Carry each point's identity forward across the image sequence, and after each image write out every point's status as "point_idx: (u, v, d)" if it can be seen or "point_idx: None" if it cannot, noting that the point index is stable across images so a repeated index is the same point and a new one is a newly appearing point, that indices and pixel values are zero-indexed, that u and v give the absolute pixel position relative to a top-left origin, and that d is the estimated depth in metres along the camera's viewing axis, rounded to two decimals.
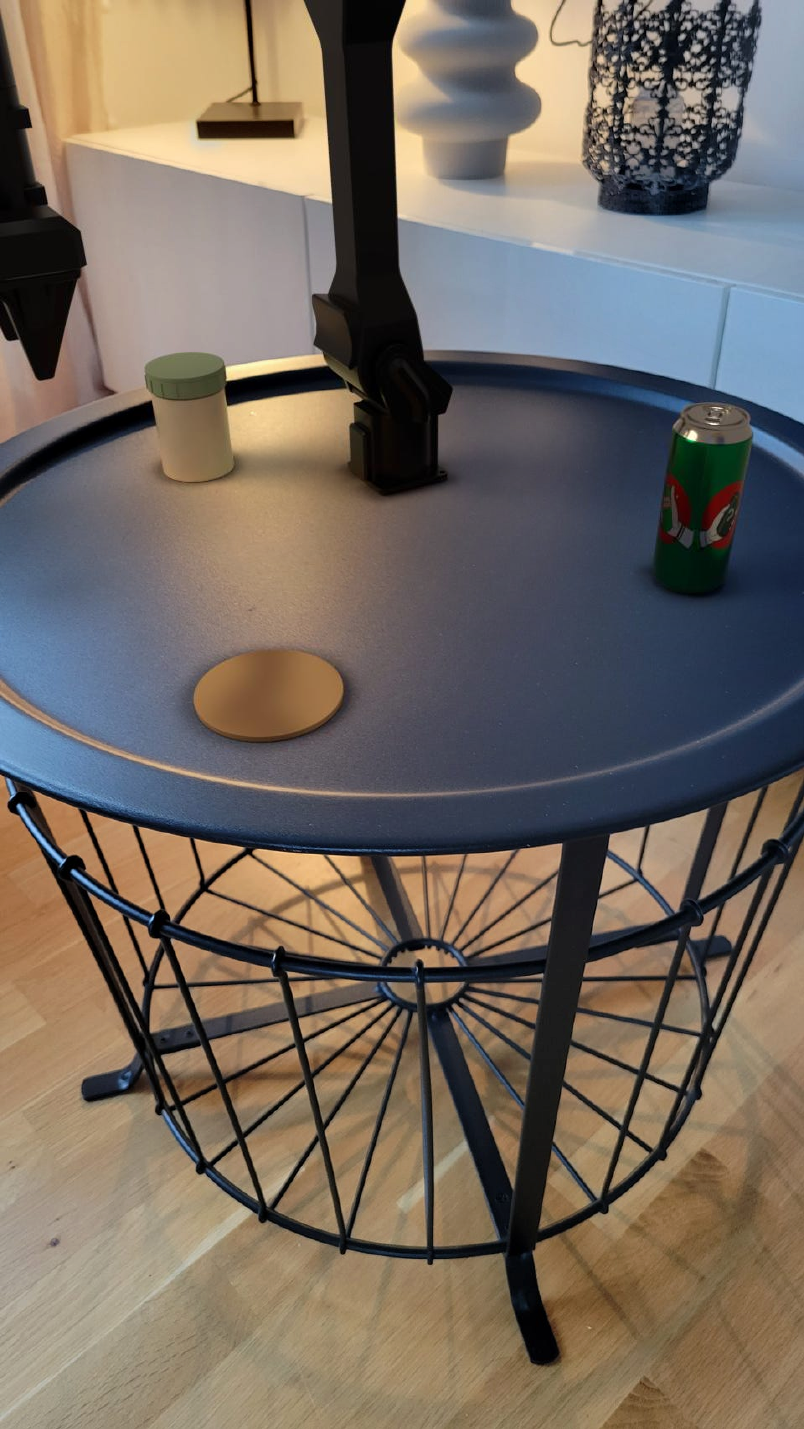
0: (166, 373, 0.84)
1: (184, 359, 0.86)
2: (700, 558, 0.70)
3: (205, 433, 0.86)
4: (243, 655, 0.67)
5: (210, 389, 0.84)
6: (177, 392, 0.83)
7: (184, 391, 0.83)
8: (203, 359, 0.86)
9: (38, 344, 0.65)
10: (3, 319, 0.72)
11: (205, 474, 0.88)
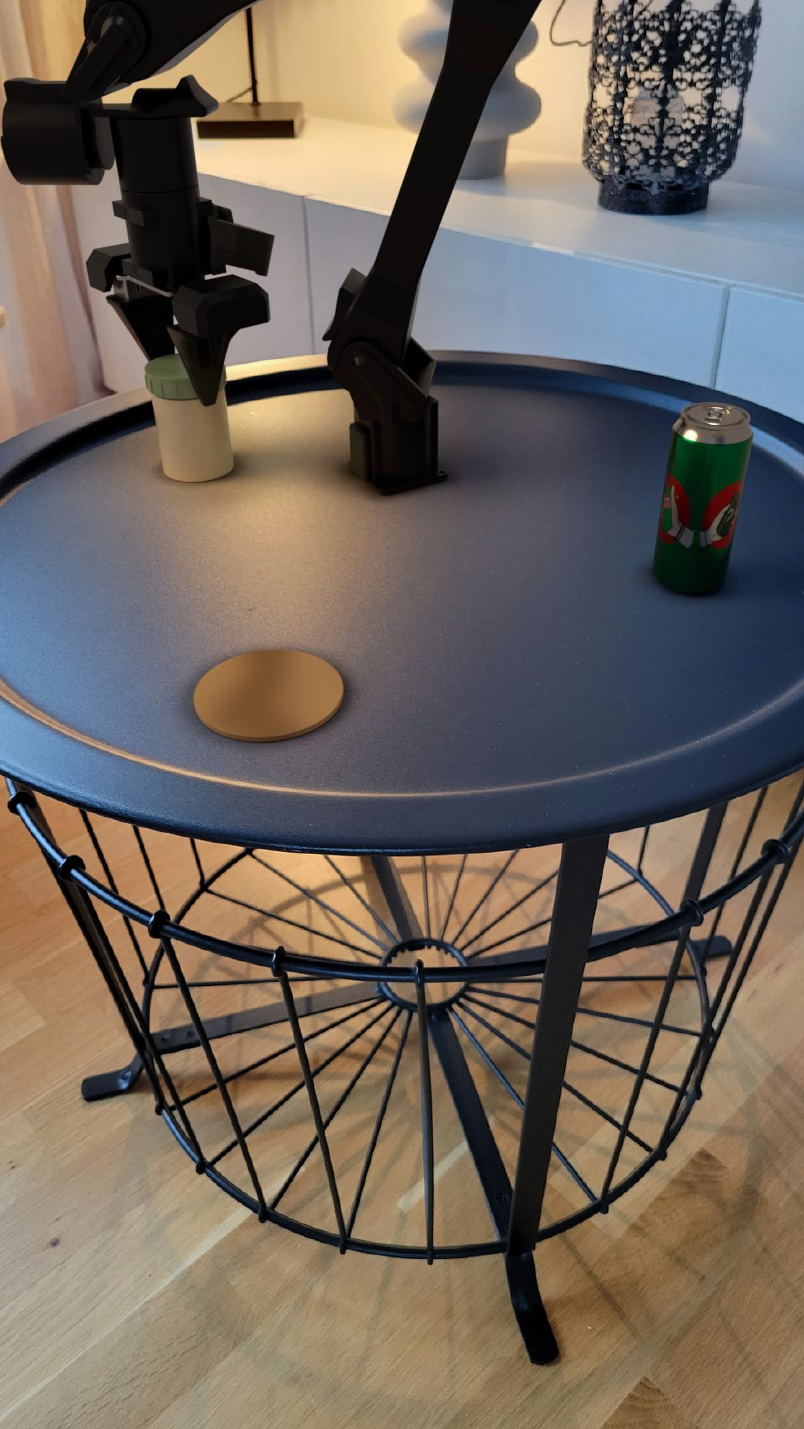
0: (166, 373, 0.84)
1: None
2: (700, 558, 0.70)
3: (205, 433, 0.86)
4: (243, 655, 0.67)
5: None
6: (177, 392, 0.83)
7: (184, 391, 0.83)
8: None
9: None
10: None
11: (205, 474, 0.88)
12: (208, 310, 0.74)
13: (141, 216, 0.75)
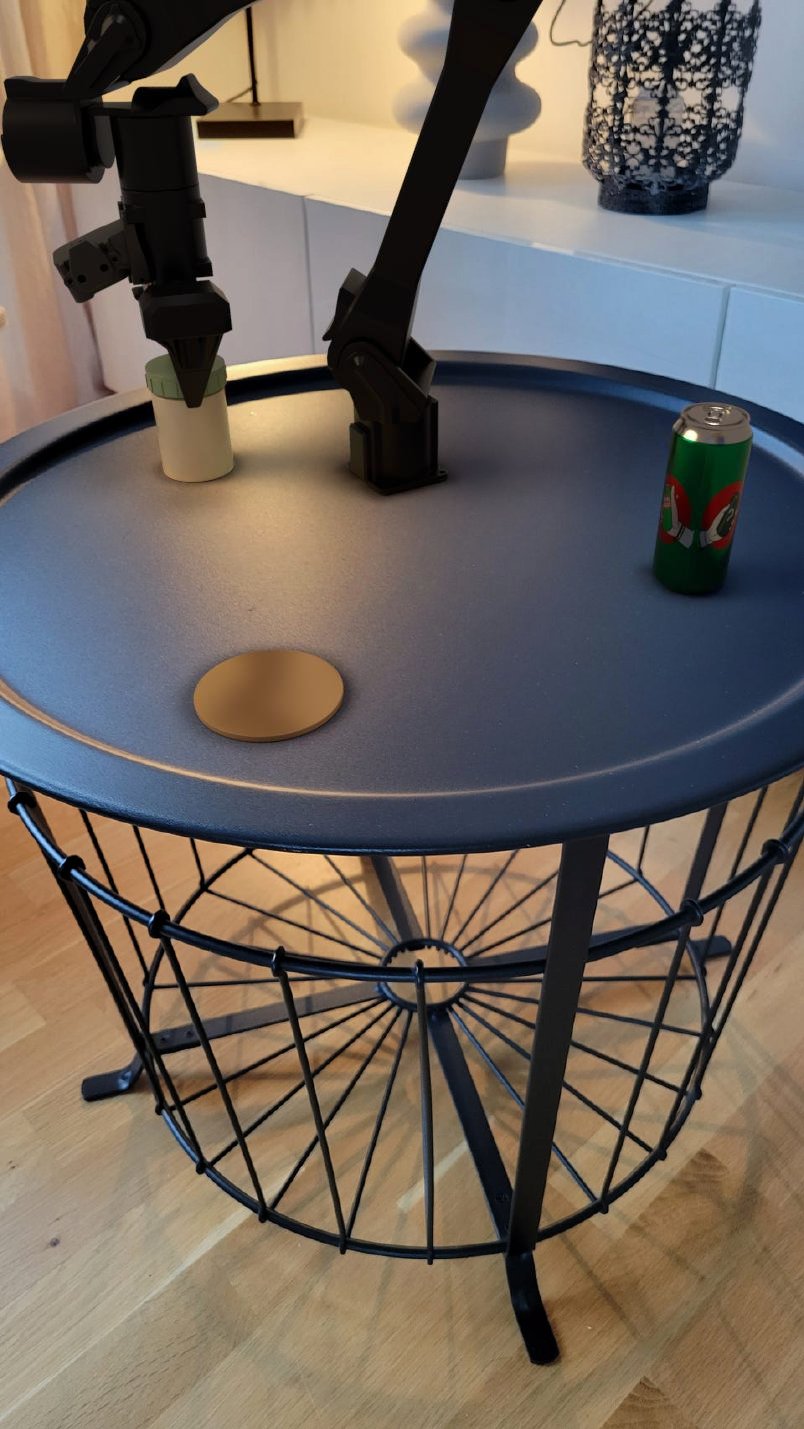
0: None
1: None
2: (700, 558, 0.70)
3: (205, 433, 0.86)
4: (243, 655, 0.67)
5: None
6: None
7: None
8: (161, 366, 0.85)
9: (190, 380, 0.82)
10: None
11: (205, 474, 0.88)
12: None
13: None
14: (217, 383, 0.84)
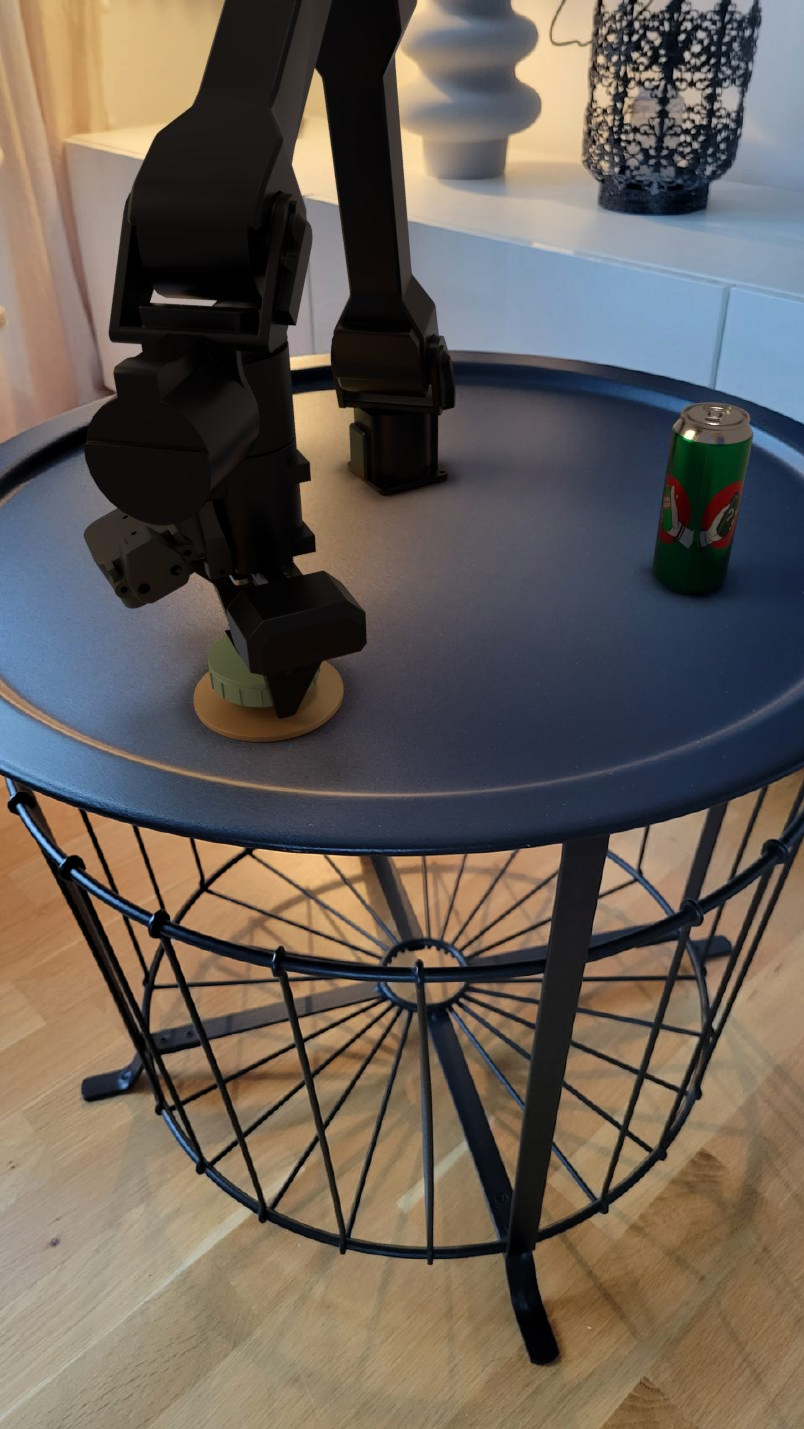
0: None
1: None
2: (700, 558, 0.70)
3: None
4: None
5: None
6: None
7: None
8: (232, 661, 0.61)
9: (286, 689, 0.59)
10: None
11: None
12: None
13: None
14: None
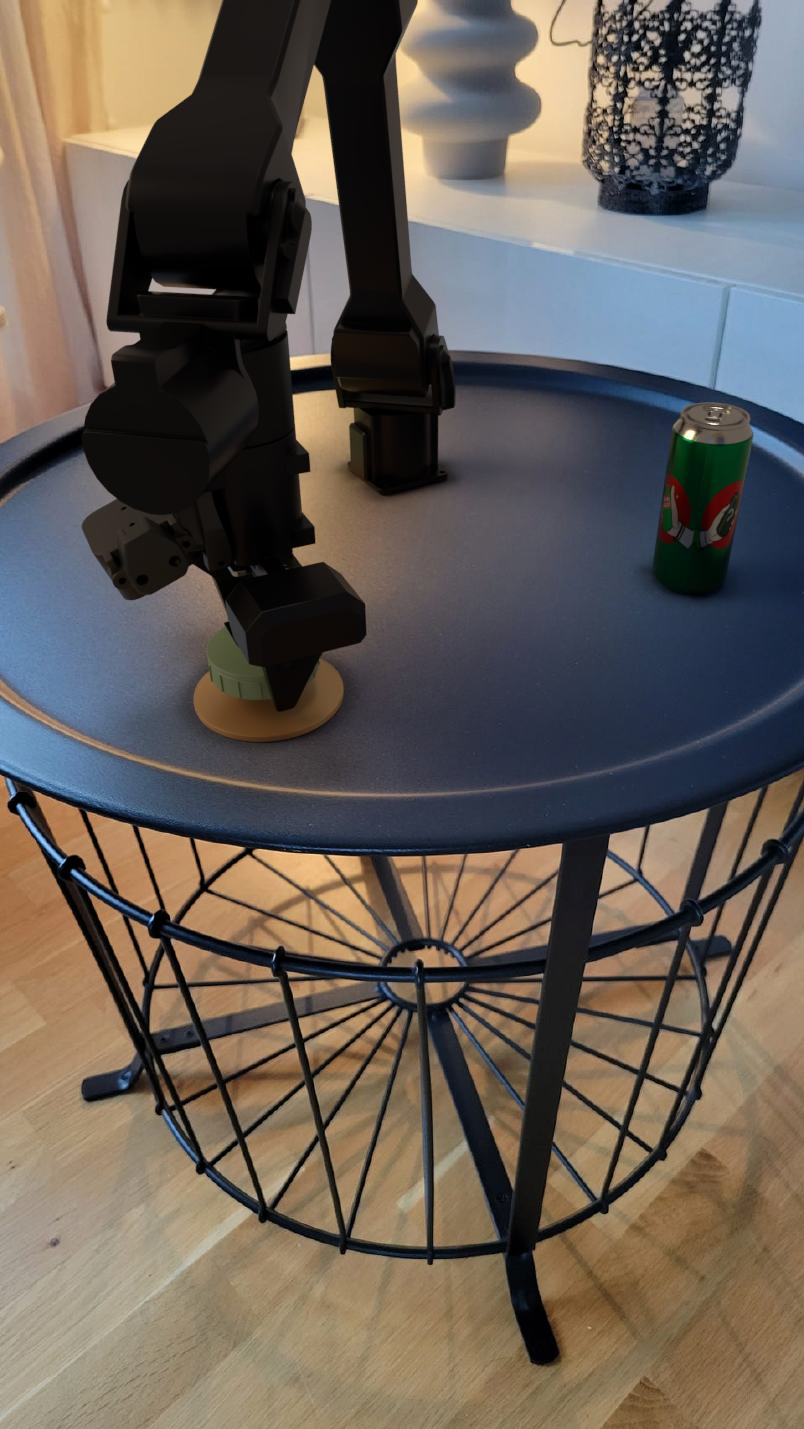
0: None
1: None
2: (700, 558, 0.70)
3: None
4: None
5: None
6: None
7: None
8: (231, 653, 0.61)
9: (285, 682, 0.58)
10: None
11: None
12: None
13: None
14: None
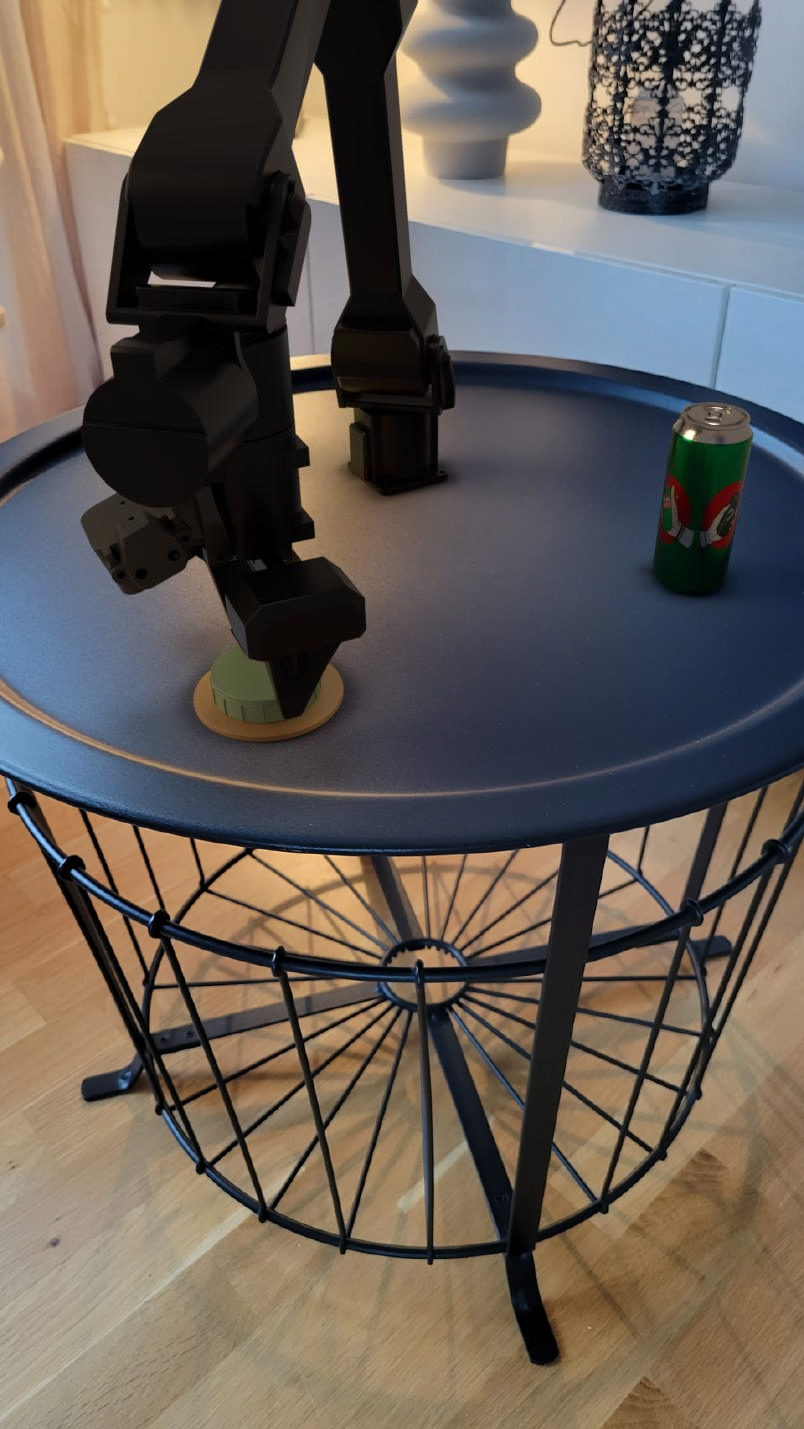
0: None
1: (259, 681, 0.61)
2: (700, 558, 0.70)
3: None
4: None
5: None
6: None
7: None
8: (235, 677, 0.62)
9: (292, 689, 0.57)
10: None
11: None
12: None
13: None
14: (314, 694, 0.62)
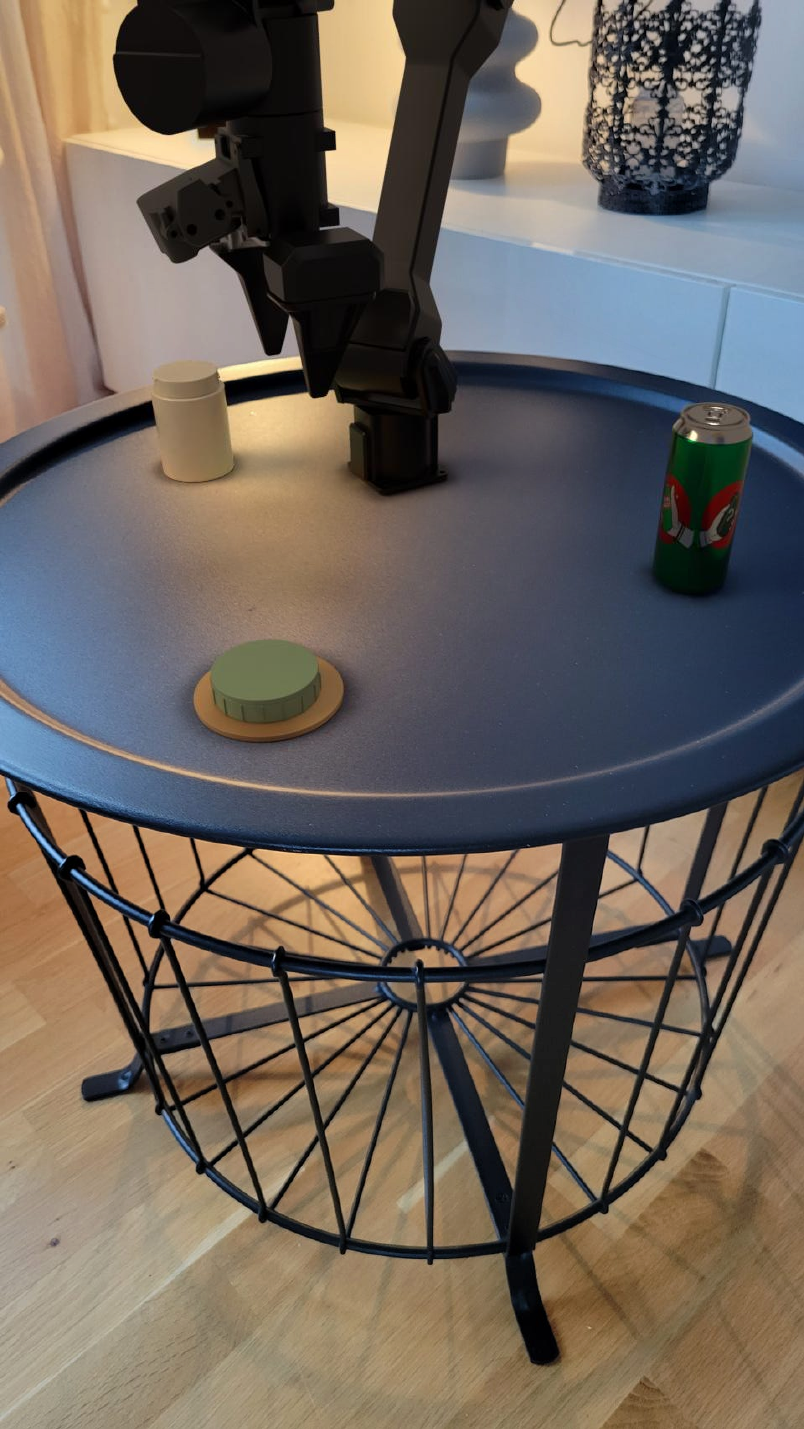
0: (292, 653, 0.64)
1: (259, 681, 0.61)
2: (700, 558, 0.70)
3: (205, 433, 0.86)
4: None
5: None
6: None
7: None
8: (235, 677, 0.62)
9: (319, 363, 0.65)
10: (266, 334, 0.73)
11: (205, 474, 0.88)
12: None
13: None
14: (314, 694, 0.62)
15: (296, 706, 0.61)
